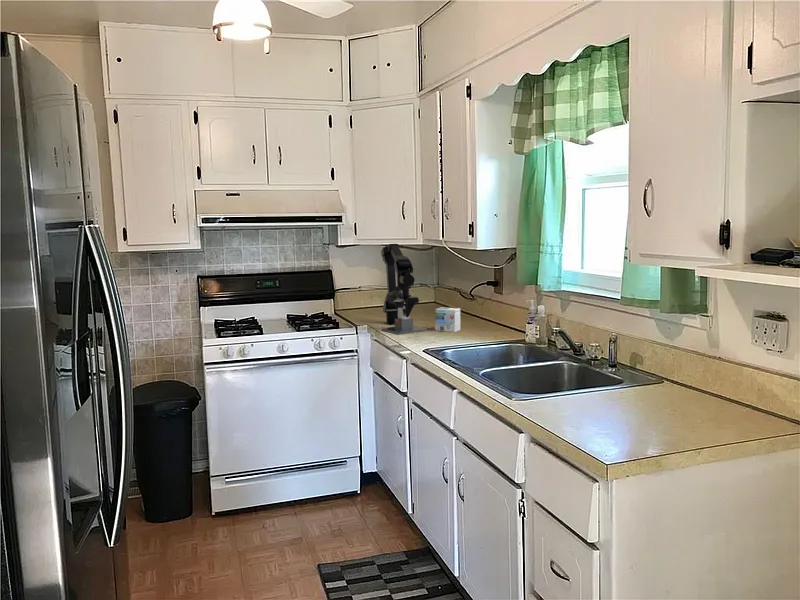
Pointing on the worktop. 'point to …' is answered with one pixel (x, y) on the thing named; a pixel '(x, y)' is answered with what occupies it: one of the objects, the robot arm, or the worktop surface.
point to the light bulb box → (447, 319)
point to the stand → (403, 327)
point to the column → (402, 313)
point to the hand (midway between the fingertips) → (403, 316)
